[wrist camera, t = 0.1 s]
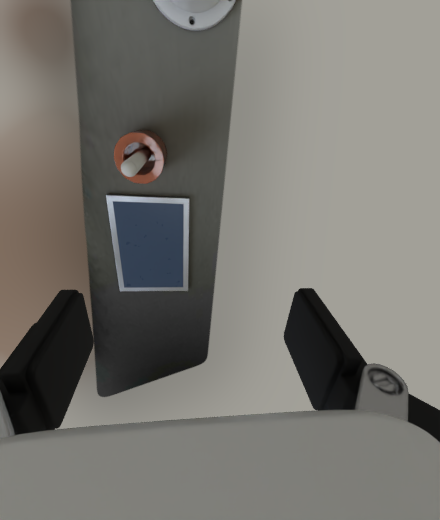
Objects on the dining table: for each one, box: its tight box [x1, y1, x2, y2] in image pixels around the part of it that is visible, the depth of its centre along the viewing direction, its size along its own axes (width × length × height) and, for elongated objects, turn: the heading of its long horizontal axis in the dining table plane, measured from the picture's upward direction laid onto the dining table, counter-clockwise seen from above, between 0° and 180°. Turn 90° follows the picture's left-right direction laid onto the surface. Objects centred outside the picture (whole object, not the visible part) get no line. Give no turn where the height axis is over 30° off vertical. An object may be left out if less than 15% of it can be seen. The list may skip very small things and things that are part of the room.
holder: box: [114, 130, 167, 184], centre depth 38 cm, size 7×7×7 cm
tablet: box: [106, 194, 189, 291], centre depth 49 cm, size 20×14×1 cm
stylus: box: [121, 148, 151, 177], centre depth 35 cm, size 2×2×14 cm
